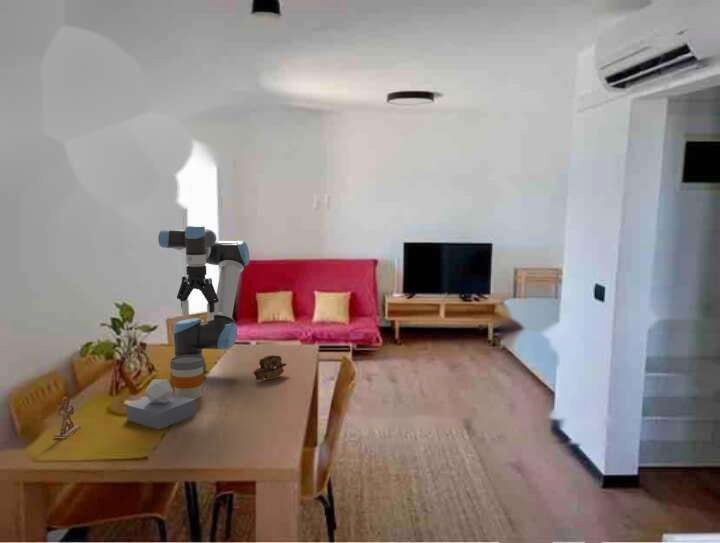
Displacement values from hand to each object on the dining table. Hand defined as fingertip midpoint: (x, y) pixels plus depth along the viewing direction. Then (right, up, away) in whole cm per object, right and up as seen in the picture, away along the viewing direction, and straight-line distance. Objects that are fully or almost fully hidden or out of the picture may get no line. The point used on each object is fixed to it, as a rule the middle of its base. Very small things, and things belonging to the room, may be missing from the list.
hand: (197, 318), depth 226 cm
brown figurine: (-30, -34, -41) cm, 62 cm away
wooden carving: (+26, -27, +17) cm, 41 cm away
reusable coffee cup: (-2, -30, -6) cm, 30 cm away
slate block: (-5, -33, -27) cm, 43 cm away
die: (-5, -27, -28) cm, 39 cm away
